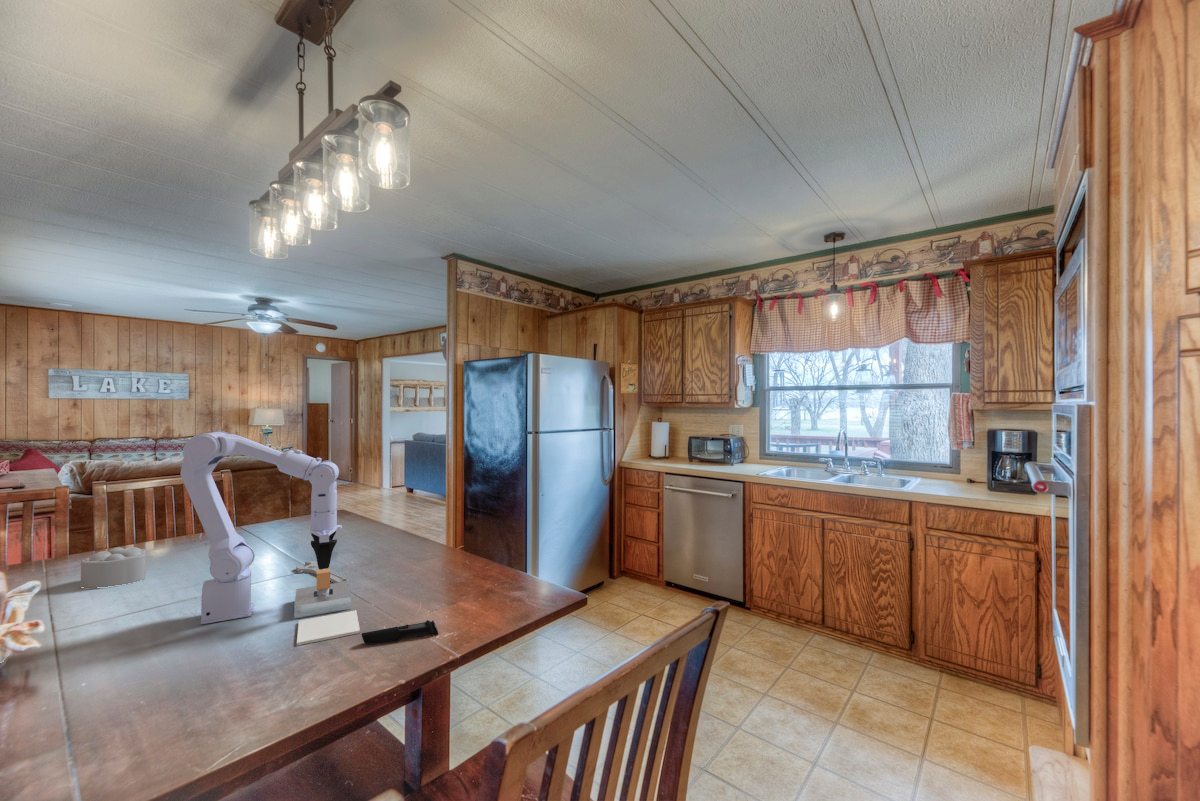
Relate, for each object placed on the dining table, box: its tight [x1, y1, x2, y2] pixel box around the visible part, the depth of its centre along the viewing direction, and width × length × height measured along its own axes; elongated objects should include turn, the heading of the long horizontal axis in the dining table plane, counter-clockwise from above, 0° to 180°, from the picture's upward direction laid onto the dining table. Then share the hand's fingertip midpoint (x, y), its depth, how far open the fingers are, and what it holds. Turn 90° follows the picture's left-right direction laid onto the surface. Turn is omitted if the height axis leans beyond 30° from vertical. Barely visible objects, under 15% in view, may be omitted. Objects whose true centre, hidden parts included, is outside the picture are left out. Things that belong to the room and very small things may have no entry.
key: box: [316, 568, 331, 597], centre depth 126 cm, size 3×3×8 cm
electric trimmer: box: [360, 619, 439, 645], centre depth 109 cm, size 4×16×3 cm, turn 114°
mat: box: [296, 609, 361, 647], centre depth 113 cm, size 12×12×1 cm
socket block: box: [293, 580, 352, 620], centre depth 126 cm, size 12×12×3 cm
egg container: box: [80, 546, 147, 588], centre depth 140 cm, size 10×13×9 cm
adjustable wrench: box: [295, 560, 349, 584], centre depth 146 cm, size 25×6×2 cm, turn 50°
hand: (323, 564), depth 126 cm, fingers open, 7 cm apart
